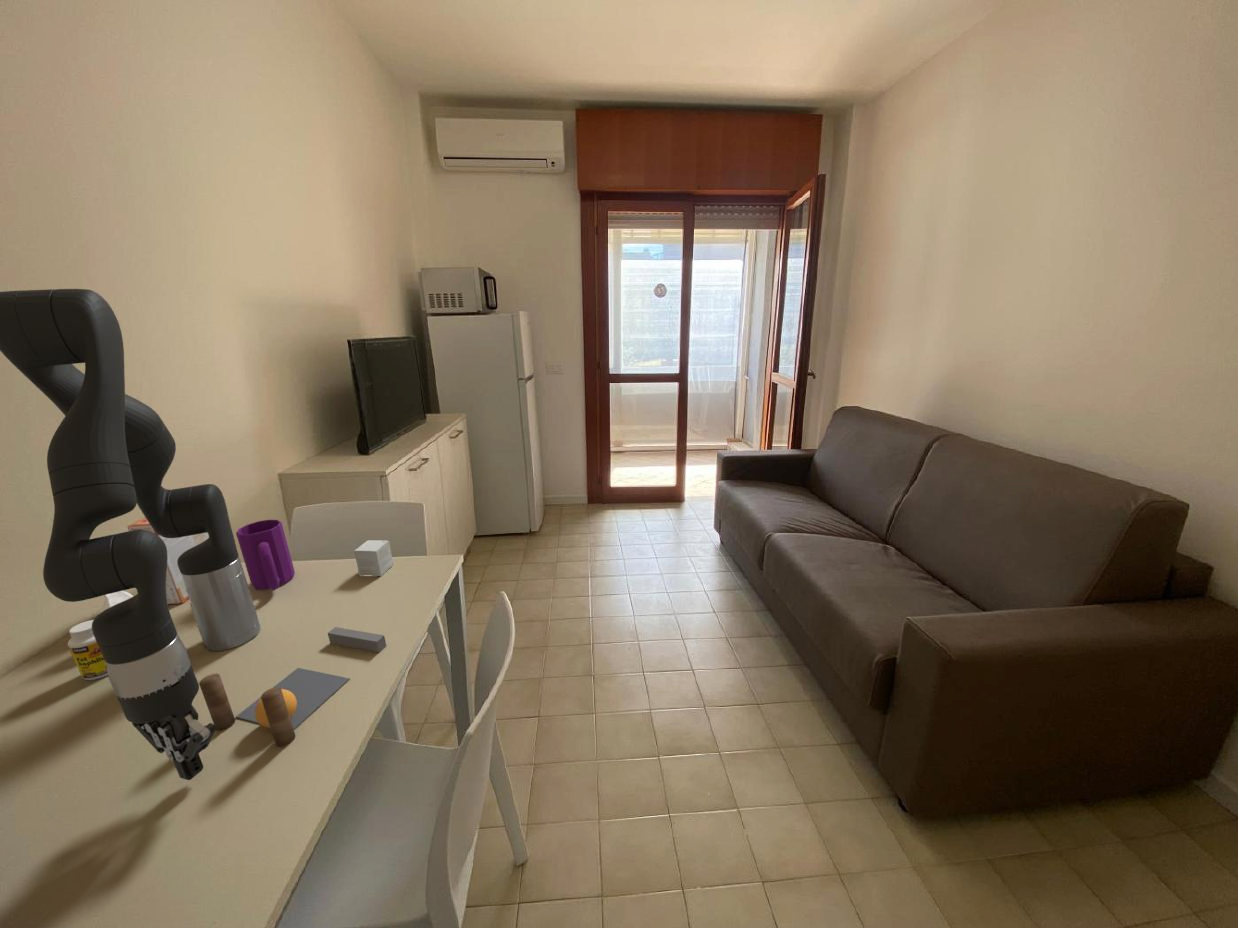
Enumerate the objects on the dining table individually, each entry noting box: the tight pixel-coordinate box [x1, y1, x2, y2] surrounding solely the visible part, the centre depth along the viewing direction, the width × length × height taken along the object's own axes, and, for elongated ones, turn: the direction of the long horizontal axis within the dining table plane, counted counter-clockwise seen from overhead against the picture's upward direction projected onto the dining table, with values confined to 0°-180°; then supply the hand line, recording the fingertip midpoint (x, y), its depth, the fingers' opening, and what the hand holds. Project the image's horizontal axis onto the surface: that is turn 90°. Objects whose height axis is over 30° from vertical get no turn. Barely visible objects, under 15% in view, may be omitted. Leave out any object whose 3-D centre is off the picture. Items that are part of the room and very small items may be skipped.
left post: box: [198, 673, 236, 732], centre depth 80 cm, size 3×3×9 cm
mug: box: [235, 519, 296, 591], centre depth 120 cm, size 9×16×15 cm, turn 38°
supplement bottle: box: [67, 619, 108, 681], centre depth 93 cm, size 6×6×10 cm
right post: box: [260, 687, 296, 748], centre depth 76 cm, size 3×3×9 cm
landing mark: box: [235, 667, 351, 731], centre depth 86 cm, size 12×12×1 cm
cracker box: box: [126, 516, 209, 606], centre depth 119 cm, size 14×6×21 cm, turn 5°
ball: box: [255, 689, 297, 728], centre depth 80 cm, size 6×6×6 cm
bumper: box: [327, 626, 387, 653], centre depth 99 cm, size 12×2×2 cm, turn 74°
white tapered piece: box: [99, 590, 134, 614], centre depth 103 cm, size 6×12×6 cm
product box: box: [353, 539, 394, 577], centre depth 127 cm, size 6×6×7 cm
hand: (192, 773), depth 71 cm, fingers closed
